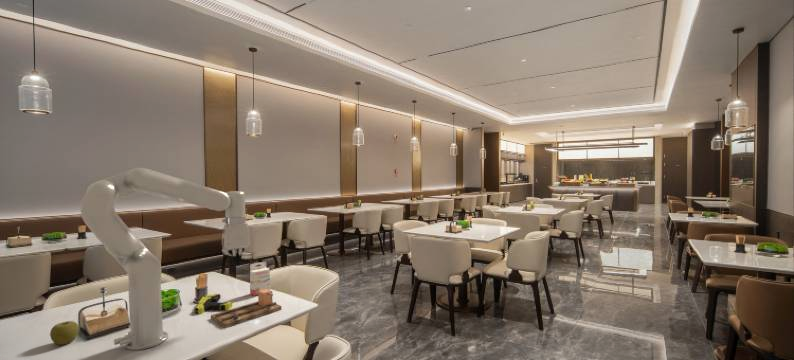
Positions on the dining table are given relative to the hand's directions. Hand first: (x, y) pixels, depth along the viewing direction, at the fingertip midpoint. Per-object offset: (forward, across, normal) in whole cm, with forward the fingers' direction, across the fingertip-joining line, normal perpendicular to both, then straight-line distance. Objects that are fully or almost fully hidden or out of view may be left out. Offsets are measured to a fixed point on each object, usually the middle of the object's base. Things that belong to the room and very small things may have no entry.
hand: (236, 264), depth 151 cm
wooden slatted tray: (+22, +4, -1) cm, 22 cm away
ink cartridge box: (+21, +21, +21) cm, 36 cm away
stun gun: (+22, 0, +21) cm, 31 cm away
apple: (+23, -51, +25) cm, 61 cm away
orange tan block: (+20, +12, -2) cm, 23 cm away
